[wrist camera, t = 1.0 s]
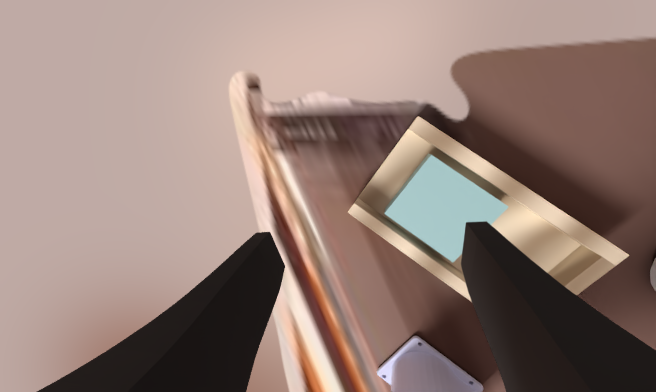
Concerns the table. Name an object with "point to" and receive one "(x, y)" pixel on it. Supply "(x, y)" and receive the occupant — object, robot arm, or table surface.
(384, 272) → the table surface
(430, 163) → the pale teal square slab
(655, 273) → the can
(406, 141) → the tray
